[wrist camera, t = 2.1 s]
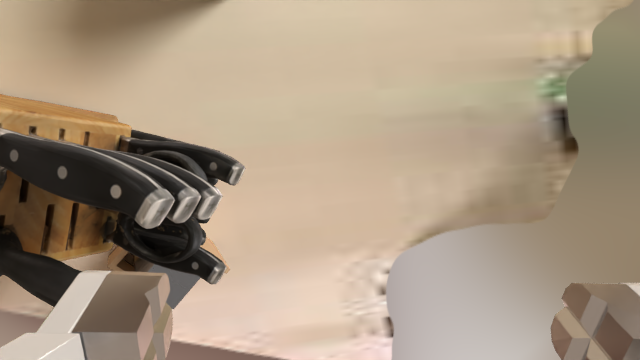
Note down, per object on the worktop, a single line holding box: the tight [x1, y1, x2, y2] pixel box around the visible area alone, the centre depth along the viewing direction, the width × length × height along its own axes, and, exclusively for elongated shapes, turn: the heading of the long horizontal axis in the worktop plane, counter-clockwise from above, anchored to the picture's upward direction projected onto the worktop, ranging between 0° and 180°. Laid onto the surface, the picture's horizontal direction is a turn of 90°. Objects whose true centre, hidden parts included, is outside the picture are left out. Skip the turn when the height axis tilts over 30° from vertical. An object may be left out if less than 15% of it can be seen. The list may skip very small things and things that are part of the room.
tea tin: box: [134, 255, 201, 309], centre depth 48 cm, size 5×5×10 cm
